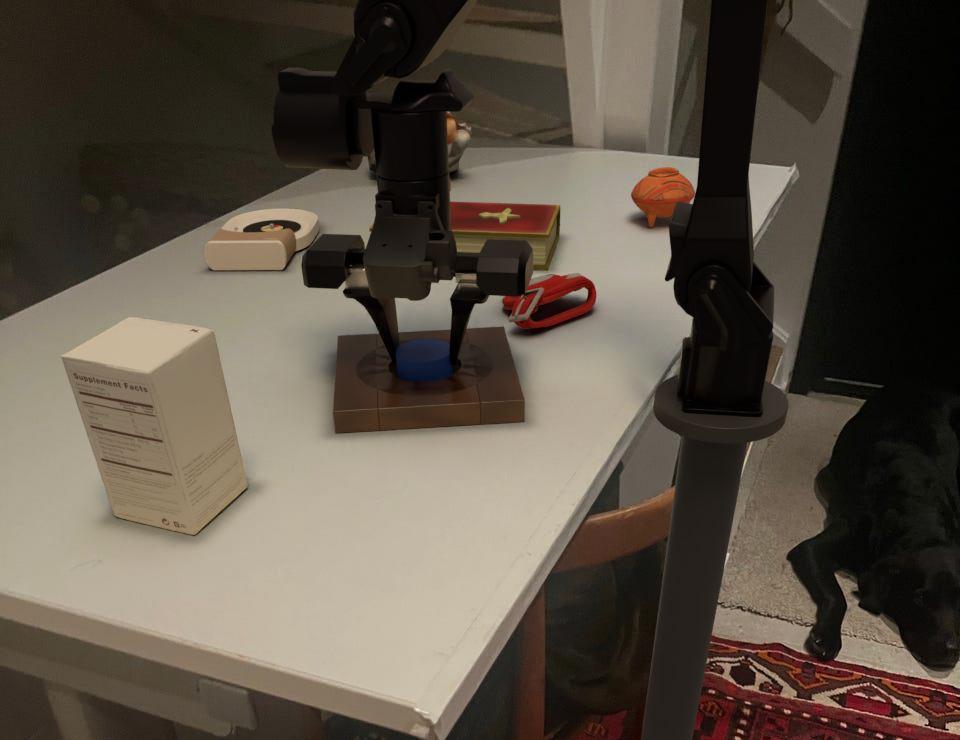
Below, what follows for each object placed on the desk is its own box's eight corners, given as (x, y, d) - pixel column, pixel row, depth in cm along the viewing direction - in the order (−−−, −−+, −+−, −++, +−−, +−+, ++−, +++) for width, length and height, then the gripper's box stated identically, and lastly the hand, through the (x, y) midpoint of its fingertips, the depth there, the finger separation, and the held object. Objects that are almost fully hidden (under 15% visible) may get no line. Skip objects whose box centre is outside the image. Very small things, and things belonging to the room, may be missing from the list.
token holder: (503, 346, 91) (503, 326, 89) (524, 421, 79) (524, 400, 77) (340, 355, 90) (337, 335, 88) (335, 433, 78) (332, 411, 76)
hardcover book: (397, 231, 119) (394, 196, 116) (559, 237, 116) (560, 201, 113) (372, 262, 110) (369, 225, 107) (547, 270, 107) (548, 231, 104)
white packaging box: (172, 470, 73) (129, 313, 65) (251, 488, 71) (217, 326, 63) (110, 518, 68) (56, 353, 60) (193, 538, 66) (149, 370, 58)
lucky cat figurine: (467, 164, 144) (486, 80, 131) (451, 217, 139) (468, 135, 126) (374, 133, 142) (383, 45, 130) (353, 185, 137) (362, 100, 125)
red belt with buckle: (490, 287, 100) (579, 257, 99) (502, 327, 102) (589, 299, 101) (504, 301, 89) (604, 268, 89) (517, 346, 91) (614, 314, 91)
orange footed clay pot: (684, 231, 115) (678, 173, 111) (626, 238, 119) (618, 182, 115) (706, 212, 120) (700, 155, 116) (650, 219, 124) (642, 165, 120)
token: (457, 365, 85) (456, 340, 83) (447, 389, 81) (446, 363, 80) (405, 362, 86) (402, 337, 84) (392, 386, 82) (389, 360, 80)
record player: (193, 242, 107) (236, 196, 122) (198, 270, 109) (240, 221, 124) (292, 242, 106) (323, 195, 122) (296, 270, 108) (326, 220, 124)
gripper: (264, 198, 68) (295, 396, 78) (515, 205, 65) (515, 409, 75) (310, 160, 76) (334, 343, 86) (535, 164, 74) (532, 353, 84)
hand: (424, 362), depth 83 cm, fingers closed on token, 5 cm apart
